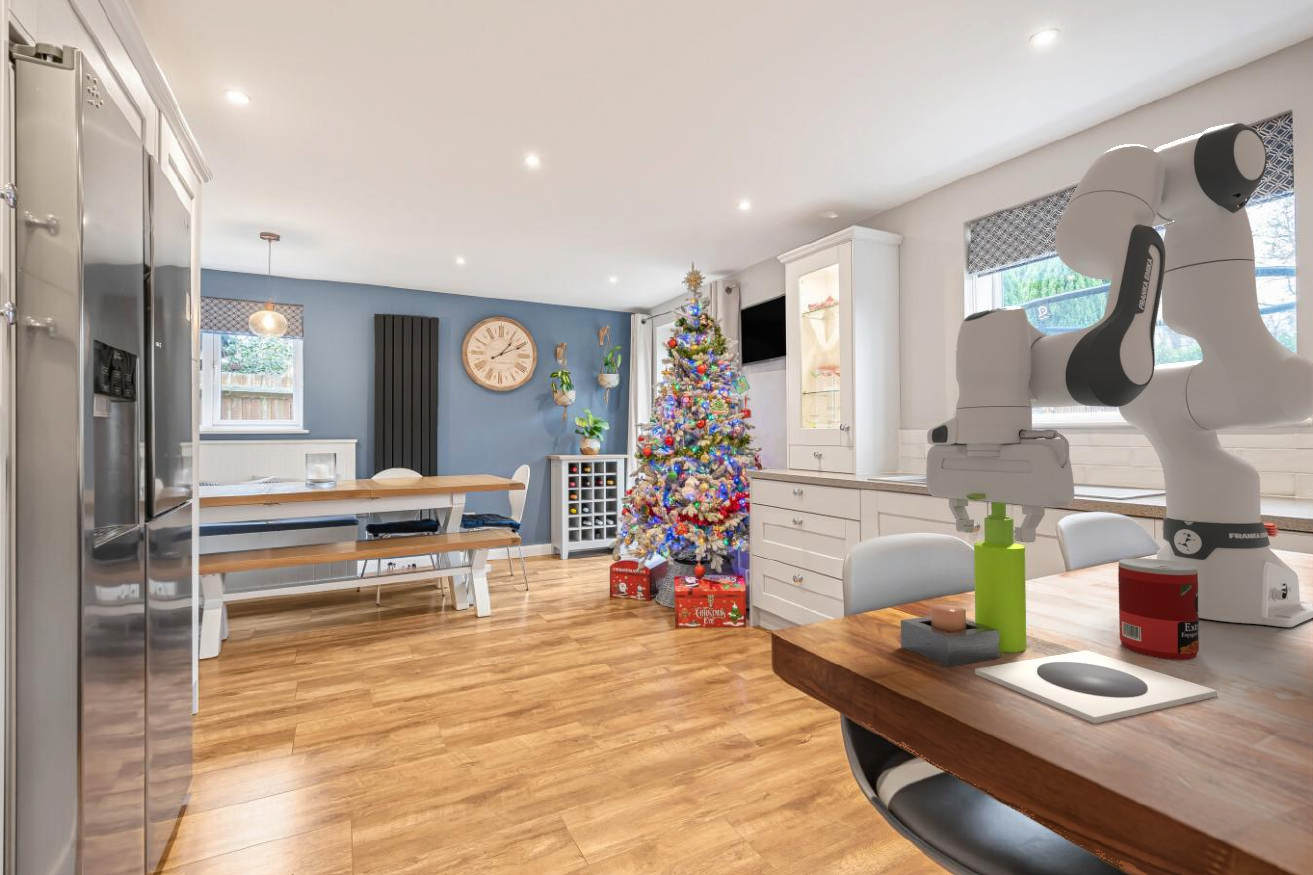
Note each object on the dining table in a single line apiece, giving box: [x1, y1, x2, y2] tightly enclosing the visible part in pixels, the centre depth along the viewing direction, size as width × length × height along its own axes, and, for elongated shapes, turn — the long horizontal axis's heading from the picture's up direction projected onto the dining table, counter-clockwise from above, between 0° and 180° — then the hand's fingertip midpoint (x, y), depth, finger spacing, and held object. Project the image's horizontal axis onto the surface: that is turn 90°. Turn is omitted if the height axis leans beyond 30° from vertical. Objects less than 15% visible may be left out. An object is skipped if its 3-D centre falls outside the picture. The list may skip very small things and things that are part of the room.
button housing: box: [900, 615, 1000, 668], centre depth 82 cm, size 8×8×4 cm
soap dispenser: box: [966, 493, 1027, 653], centre depth 84 cm, size 6×7×20 cm
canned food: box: [1117, 557, 1200, 661], centre depth 82 cm, size 8×8×11 cm
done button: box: [930, 604, 967, 632], centre depth 82 cm, size 4×4×3 cm
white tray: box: [974, 649, 1218, 725], centre depth 70 cm, size 18×14×1 cm
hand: (993, 536), depth 84 cm, fingers open, 8 cm apart
